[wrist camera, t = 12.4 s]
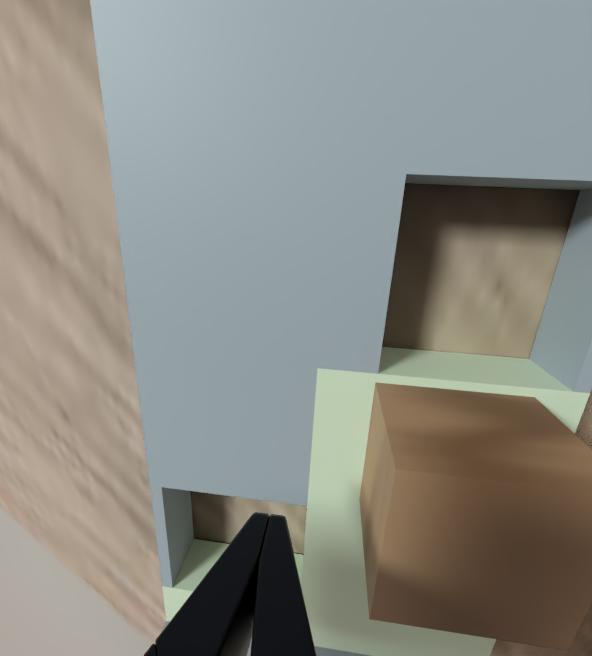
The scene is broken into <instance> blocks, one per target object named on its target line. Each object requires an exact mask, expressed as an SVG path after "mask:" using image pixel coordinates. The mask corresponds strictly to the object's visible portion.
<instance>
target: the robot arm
mask: <svg viewBox="0 0 592 656" xmlns="http://www.w3.org/2000/svg"><path fill="white" fill-rule="evenodd" d="M251 638H252V643H251V655H250V656H316V652H315V647H314V643H313V638H312V633H311V629H310V624H309V620H308V615H307V611H306V606H305V602H304V597H303V593H302V588H301V584H300V579H299V575H298V570H297V566H296V561H295V557H294V552H293V547H292V543H291V538H290V534H289V529H288V525H287V520H286V517H285V516H282V515H274V514H272V515H270V516H269V514H266V513H258V512H255V513H254V514H253V515H252V516H251V517H250V518H249V520H248V521H247V522H246V524H245V525H244V526H243V527H242V529H241V530H240V531H239V533H238V534H237V535H236V537H235V538H234V539H233V540H232V542H231V543H230V544H229V546H228V547H227V548H226V550H225V551H224V552H223V553H222V555H221V556H220V557H219V559H218V560H217V561H216V562H215V564H214V565H213V566H212V568H211V569H210V570H209V572H208V573H207V574H206V575H205V577H204V578H203V579H202V581H201V582H200V583H199V585H198V586H197V587H196V588H195V590H194V591H193V592H192V594H191V595H190V596H189V598H188V599H187V600H186V601H185V603H184V604H183V605H182V607H181V608H180V609H179V611H178V612H177V613H176V614H175V616H174V617H173V618H172V620H171V621H170V622H169V624H168V625H167V626H166V627H165V629H164V630H163V631H162V633H161V634H160V635H159V637H158V638H157V639H156V642H155V643H156V645H155V644H152V645H151V647H150V648H149V650H148V651H147V652H146V653H145V655H144V656H247V653H248V649H249V646H250V642H251Z"/></svg>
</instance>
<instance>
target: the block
mask: <svg viewBox="0 0 592 656" xmlns="http://www.w3.org/2000/svg"><path fill="white" fill-rule="evenodd" d="M359 501H360V513H361V525H362V537H363V549H364V561H365V573H366V585H367V598H368V610H369V619H371V620H377V621H383V622H390V623H396V624H402V625H409V626H415V627H421V628H428V629H434V630H440V631H447V632H453V633H459V634H466V635H472V636H478V637H485V638H491V639H497V640H504V641H510V642H516V643H523V644H529V645H535V646H542V647H548V648H554V649H561V650H567V651H569V649H570V647H571V645H572V643H573V641H574V639H575V637H576V635H577V633H578V631H579V629H580V627H581V625H582V623H583V621H584V619H585V617H586V615H587V613H588V611H589V609H590V607H591V605H592V449H591V448H590V447H589V446H588V445H587V444H585V443H584V442H583V441H582V440H581V439H580V438H579V437H578V436H577V435H576V434H575V433H573V432H572V431H571V430H570V429H569V428H568V427H567V426H566V425H565V424H564V423H562V422H561V421H560V420H559V419H558V418H557V417H556V416H555V415H554V414H553V413H552V412H550V411H549V410H548V409H547V408H546V407H545V406H544V405H543V404H542V403H541V402H540V401H538V400H537V399H536V398H535V397H528V396H517V395H506V394H495V393H484V392H474V391H463V390H452V389H441V388H430V387H420V386H409V385H398V384H387V383H377V382H375V389H374V396H373V404H372V411H371V418H370V425H369V433H368V440H367V447H366V454H365V462H364V469H363V476H362V483H361V491H360V498H359Z"/></svg>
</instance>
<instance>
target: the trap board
mask: <svg viewBox="0 0 592 656" xmlns="http://www.w3.org/2000/svg"><path fill="white" fill-rule="evenodd" d="M90 4H91V12H92V20H93V28H94V36H95V44H96V52H97V61H98V69H99V77H100V85H101V93H102V101H103V109H104V117H105V125H106V134H107V142H108V150H109V158H110V166H111V174H112V182H113V190H114V198H115V207H116V215H117V223H118V231H119V239H120V247H121V255H122V263H123V271H124V280H125V288H126V296H127V304H128V312H129V320H130V328H131V336H132V344H133V353H134V361H135V369H136V377H137V385H138V393H139V401H140V409H141V417H142V426H143V434H144V442H145V450H146V458H147V466H148V474H149V482H150V490H151V499H152V507H153V515H154V523H155V531H156V539H157V547H158V555H159V563H160V572H161V580H162V588H163V596H164V604H165V612H166V620H167V621H166V624H165V626H164V629H165V627H166V626H167V625H168V624H169V622H170V621H171V620H172V618H173V617H174V616H175V614H176V613H177V612H178V611H179V609H180V608H181V607H182V605H183V604H184V603H185V601H186V600H187V599H188V598H189V596H190V595H191V594H192V592H193V591H194V590H195V588H196V587H197V586H198V585H199V583H200V582H201V581H202V579H203V578H204V577H205V575H206V574H207V573H208V572H209V570H210V569H211V568H212V566H213V565H214V564H215V562H216V561H217V560H218V559H219V557H220V556H221V555H222V553H223V552H224V551H225V550H226V548H227V547H228V546H229V544H225V543H218V542H212V541H205V540H198V539H194V533H193V519H192V506H191V492H190V491H195V492H202V493H210V494H218V495H225V496H233V497H241V498H248V499H256V500H264V501H272V502H279V503H287V504H295V505H302V506H307V515H306V528H305V542H304V555H302V554H295V553H294V557H295V561H296V566H297V570H298V575H299V579H300V584H301V588H302V593H303V597H304V602H305V606H306V611H307V615H308V620H309V624H310V629H311V633H312V638H313V643H314V647H315V652H316V656H490V655H491V652H492V649H493V647H494V644H495V642H496V639H491V638H485V637H478V636H472V635H466V634H459V633H453V632H447V631H440V630H434V629H428V628H421V627H415V626H409V625H402V624H396V623H390V622H383V621H377V620H371V619H369V610H368V598H367V585H366V573H365V561H364V549H363V537H362V525H361V513H360V501H359V498H360V491H361V483H362V476H363V469H364V462H365V454H366V447H367V440H368V433H369V425H370V418H371V411H372V404H373V396H374V389H375V382H377V383H387V384H398V385H409V386H420V387H430V388H441V389H452V390H463V391H474V392H484V393H495V394H506V395H517V396H528V397H535V398H536V399H537V400H538V401H540V402H541V403H542V404H543V405H544V406H545V407H546V408H547V409H548V410H549V411H550V412H552V413H553V414H554V415H555V416H556V417H557V418H558V419H559V420H560V421H561V422H562V423H564V424H565V425H566V426H567V427H568V428H569V429H570V430H571V431H572V432H573V433H575V432H576V429H577V427H578V424H579V421H580V419H581V416H582V414H583V411H584V408H585V406H586V403H587V401H588V398H589V395H590V393H591V390H592V0H90ZM405 183H414V184H439V185H464V186H489V187H515V188H540V189H565V190H580V192H579V196H578V199H577V202H576V206H575V209H574V212H573V216H572V219H571V222H570V226H569V229H568V232H567V235H566V239H565V242H564V245H563V249H562V252H561V255H560V259H559V262H558V265H557V269H556V272H555V275H554V279H553V282H552V285H551V288H550V292H549V295H548V298H547V302H546V305H545V308H544V312H543V315H542V318H541V322H540V325H539V328H538V332H537V335H536V338H535V341H534V345H533V348H532V351H531V355H530V358H529V359H522V358H510V357H499V356H487V355H475V354H463V353H451V352H439V351H427V350H415V349H404V348H392V347H382V343H383V336H384V329H385V322H386V315H387V308H388V300H389V293H390V286H391V279H392V272H393V265H394V258H395V251H396V244H397V237H398V230H399V223H400V216H401V209H402V201H403V194H404V187H405ZM164 629H163V630H164ZM251 643H252V638H251V642H250V646H249V649H248V653H247V656H250V655H251Z"/></svg>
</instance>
